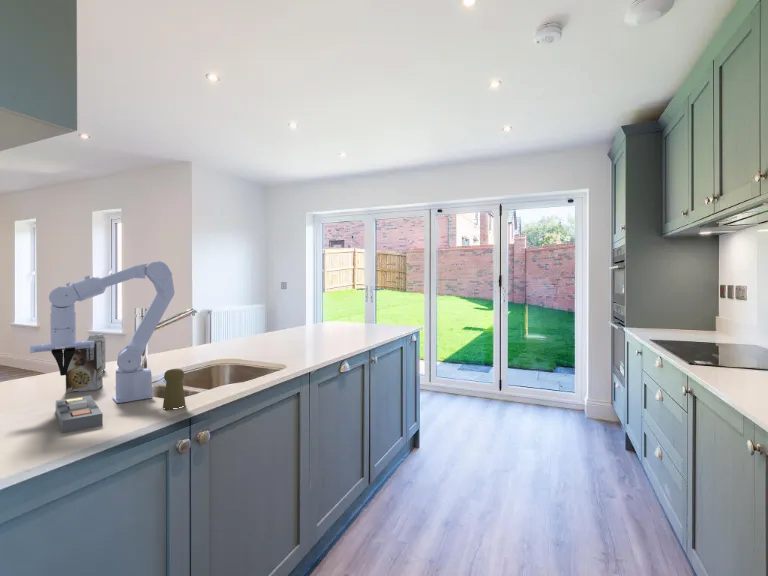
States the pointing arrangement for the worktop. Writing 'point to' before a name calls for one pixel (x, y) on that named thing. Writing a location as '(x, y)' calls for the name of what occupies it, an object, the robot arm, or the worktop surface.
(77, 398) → the brass key
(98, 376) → the coffee box
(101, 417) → the keypad
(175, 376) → the cork
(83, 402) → the grey key
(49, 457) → the worktop surface
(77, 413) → the terracotta key
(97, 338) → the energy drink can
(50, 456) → the worktop surface
